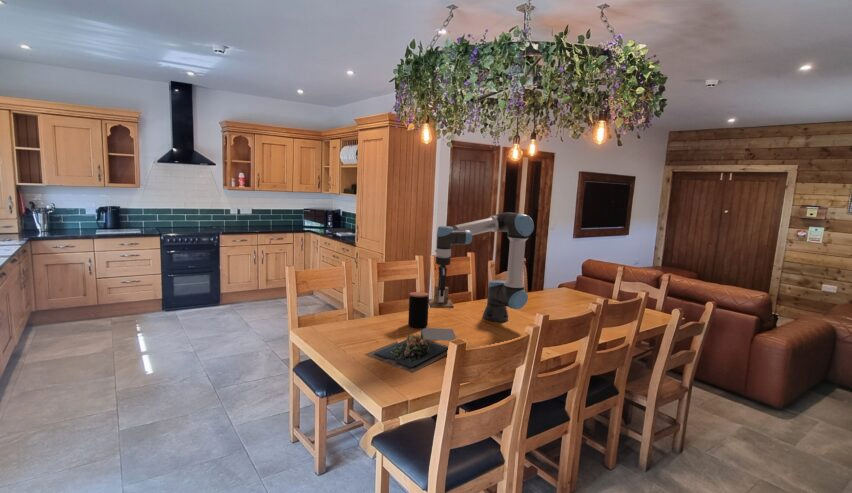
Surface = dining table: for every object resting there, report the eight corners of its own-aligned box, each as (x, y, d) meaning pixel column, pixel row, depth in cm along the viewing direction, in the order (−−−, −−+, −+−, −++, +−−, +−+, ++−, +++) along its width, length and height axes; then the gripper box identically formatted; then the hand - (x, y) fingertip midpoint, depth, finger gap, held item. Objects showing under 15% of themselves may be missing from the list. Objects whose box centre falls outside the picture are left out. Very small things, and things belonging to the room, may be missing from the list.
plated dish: (411, 334, 228) (412, 321, 227) (457, 349, 212) (458, 335, 211) (364, 355, 200) (364, 340, 199) (413, 375, 184) (414, 358, 183)
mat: (452, 330, 241) (452, 329, 241) (456, 342, 224) (457, 340, 224) (419, 328, 240) (419, 327, 240) (421, 340, 222) (421, 339, 222)
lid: (450, 301, 236) (451, 285, 235) (453, 308, 224) (454, 290, 223) (428, 301, 235) (429, 284, 234) (429, 307, 223) (430, 290, 222)
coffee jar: (428, 324, 248) (429, 292, 246) (426, 329, 237) (427, 296, 236) (409, 323, 249) (410, 291, 247) (406, 328, 238) (408, 295, 237)
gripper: (434, 253, 234) (432, 296, 237) (437, 259, 217) (434, 305, 221) (448, 253, 234) (446, 296, 238) (452, 259, 218) (449, 305, 221)
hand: (440, 300), depth 229 cm, fingers closed on lid, 3 cm apart
